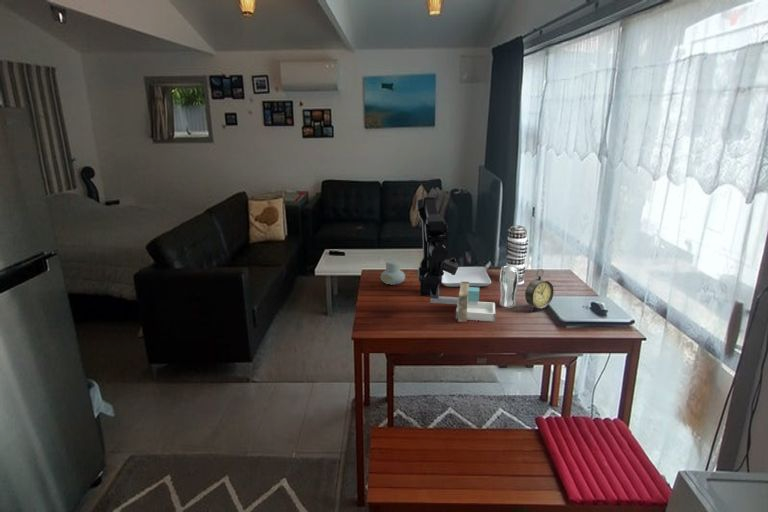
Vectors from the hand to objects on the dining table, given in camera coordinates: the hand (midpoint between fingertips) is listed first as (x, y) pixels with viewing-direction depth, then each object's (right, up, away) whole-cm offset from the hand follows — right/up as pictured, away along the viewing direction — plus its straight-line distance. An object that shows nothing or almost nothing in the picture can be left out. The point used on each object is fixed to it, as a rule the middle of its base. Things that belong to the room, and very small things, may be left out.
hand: (434, 293), depth 175 cm
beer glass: (+29, -5, +7) cm, 30 cm away
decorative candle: (+39, +3, +31) cm, 50 cm away
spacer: (+14, -2, -2) cm, 14 cm away
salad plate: (+17, +3, +34) cm, 38 cm away
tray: (+15, -8, -1) cm, 17 cm away
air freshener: (-15, +2, +33) cm, 36 cm away
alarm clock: (+40, -6, +3) cm, 40 cm away
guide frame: (+11, -8, 0) cm, 13 cm away
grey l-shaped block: (+7, -4, 0) cm, 8 cm away
